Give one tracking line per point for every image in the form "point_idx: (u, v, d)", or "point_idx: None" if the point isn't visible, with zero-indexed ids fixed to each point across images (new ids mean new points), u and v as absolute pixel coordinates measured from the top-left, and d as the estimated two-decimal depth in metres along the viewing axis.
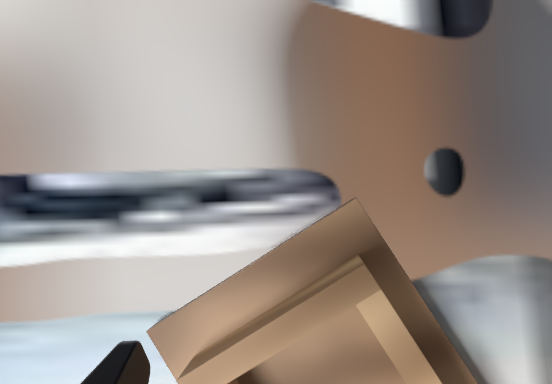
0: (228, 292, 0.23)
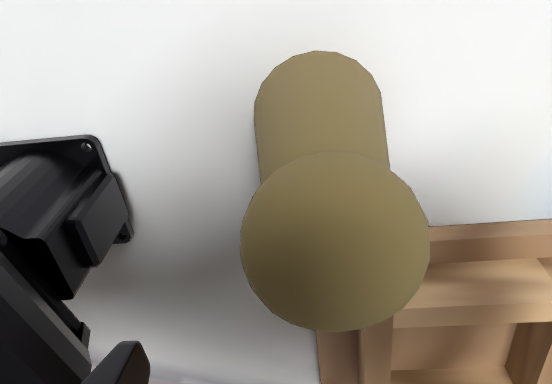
0: None
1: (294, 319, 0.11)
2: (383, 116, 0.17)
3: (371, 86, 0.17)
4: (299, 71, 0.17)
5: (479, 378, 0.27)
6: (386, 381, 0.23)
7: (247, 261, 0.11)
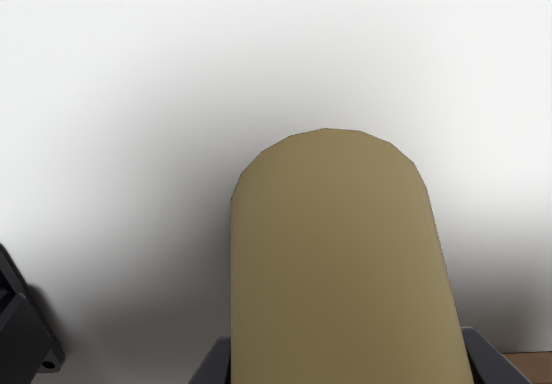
0: None
1: None
2: (440, 247, 0.10)
3: (418, 192, 0.10)
4: (300, 172, 0.10)
5: None
6: None
7: None
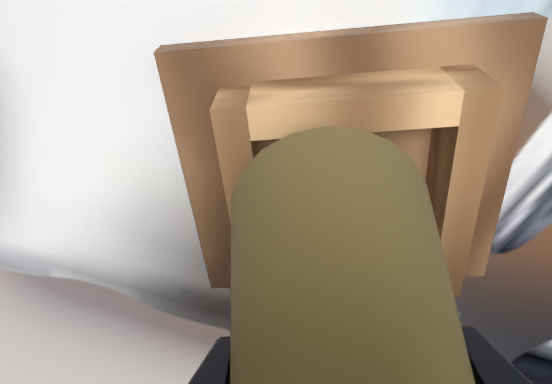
0: (504, 138, 0.19)
1: None
2: (441, 245, 0.10)
3: (419, 190, 0.10)
4: (300, 170, 0.10)
5: None
6: None
7: None
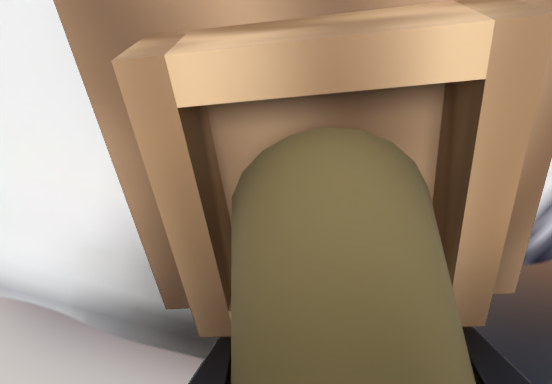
0: (546, 106, 0.14)
1: None
2: (442, 246, 0.10)
3: (420, 191, 0.10)
4: (301, 171, 0.10)
5: None
6: (203, 237, 0.14)
7: None
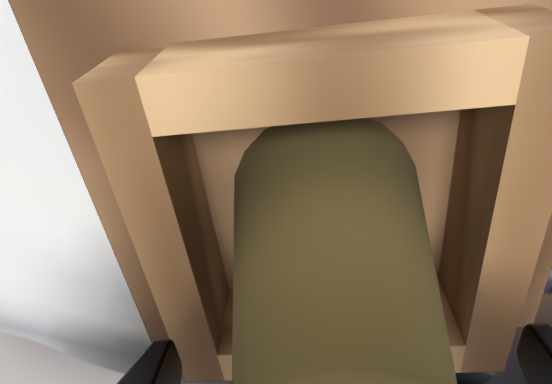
0: None
1: None
2: (424, 216, 0.11)
3: (405, 167, 0.11)
4: (297, 147, 0.11)
5: None
6: (187, 278, 0.12)
7: None
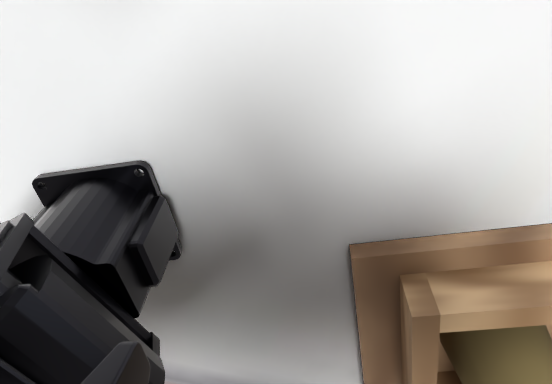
0: None
1: None
2: None
3: (544, 326, 0.23)
4: None
5: None
6: (433, 383, 0.24)
7: None
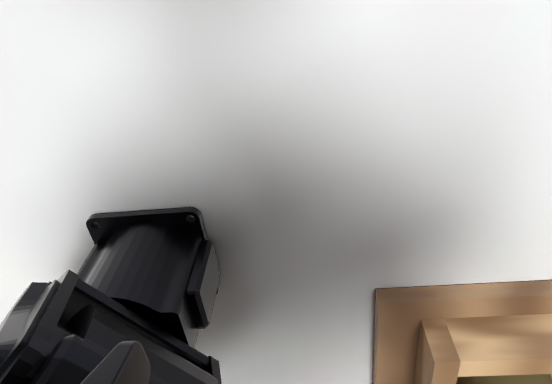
0: None
1: None
2: None
3: None
4: None
5: None
6: None
7: None
